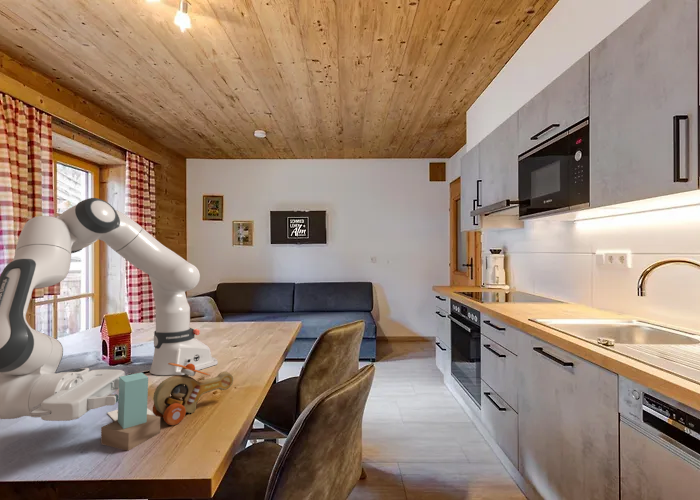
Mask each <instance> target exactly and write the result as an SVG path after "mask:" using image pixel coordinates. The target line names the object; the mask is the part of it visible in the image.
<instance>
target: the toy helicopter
mask: <svg viewBox="0 0 700 500" xmlns="http://www.w3.org/2000/svg"><path fill="white" fill-rule="evenodd" d="M168 364H169V365H173V366H178V367H182V369H181V372H182V373H184V375H171V376H170V377H167V378H165V379H163V380H162V381H161V382H160V383H159V384H158V385H157V386H156V388H155V390H154V392H153V405H152V412H153V413H154V414H155V415H156V416H158V417H160V418H162V419H163V421H164V422H165V423H166V424H167V425H170V426H176V425H179V424H180V423H181V422H182V421H183V420H184V418H185V417H186V414H187V413H188V414H190V413H191V414H193V413H195V411H196V409H197V403H198V401H199V400H200V398H201V396H202V395H204V394H206V393H210V392H213V391H216V390H221V391H226V390H228V389H229V388H231V386H232V384H233V383H234V376H233V374H232V373H230V372H228V371H221V372H220V373H218V374H217V376H213V377H211V378H206V379H200V380H196V379H195V378H194V377H195V376H196V373H198V374H201V375H205V376H211V374H210V373H207V372H204V371H201V370H195V366H194V364H187V365H186V366H183V365H179V364H175V363H168Z"/></svg>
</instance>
